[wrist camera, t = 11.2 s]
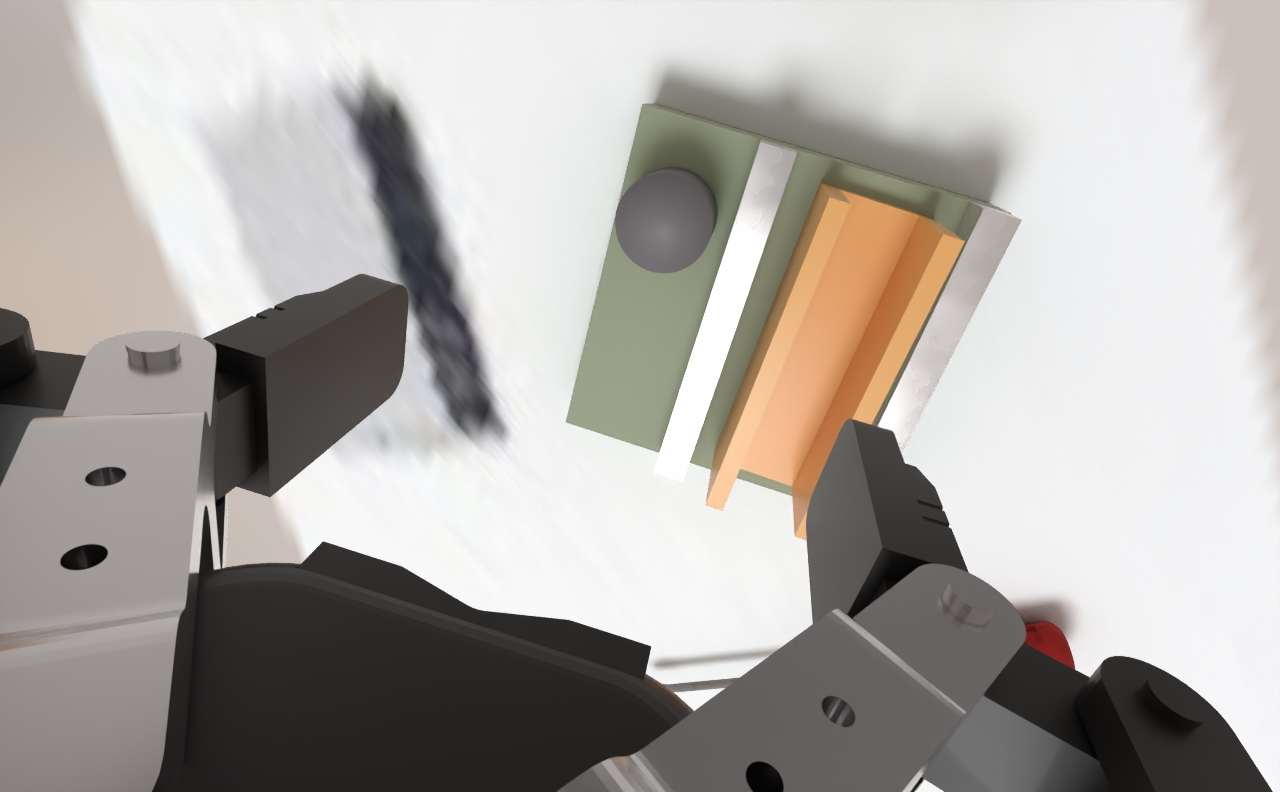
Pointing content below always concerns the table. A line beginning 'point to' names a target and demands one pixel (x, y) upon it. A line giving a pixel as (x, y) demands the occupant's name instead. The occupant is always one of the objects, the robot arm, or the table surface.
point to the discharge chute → (831, 339)
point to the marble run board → (699, 270)
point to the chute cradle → (758, 207)
